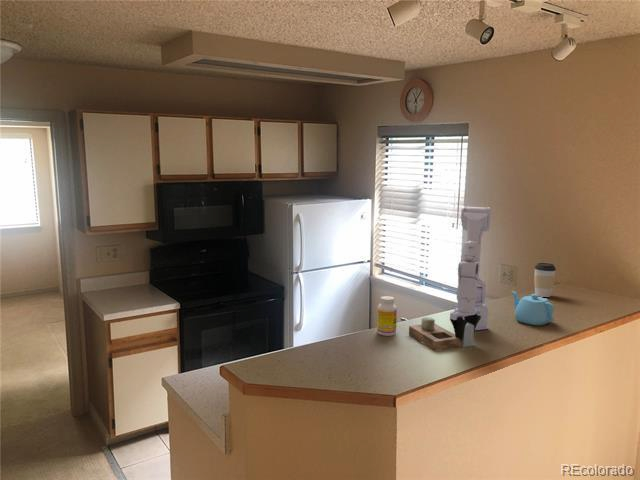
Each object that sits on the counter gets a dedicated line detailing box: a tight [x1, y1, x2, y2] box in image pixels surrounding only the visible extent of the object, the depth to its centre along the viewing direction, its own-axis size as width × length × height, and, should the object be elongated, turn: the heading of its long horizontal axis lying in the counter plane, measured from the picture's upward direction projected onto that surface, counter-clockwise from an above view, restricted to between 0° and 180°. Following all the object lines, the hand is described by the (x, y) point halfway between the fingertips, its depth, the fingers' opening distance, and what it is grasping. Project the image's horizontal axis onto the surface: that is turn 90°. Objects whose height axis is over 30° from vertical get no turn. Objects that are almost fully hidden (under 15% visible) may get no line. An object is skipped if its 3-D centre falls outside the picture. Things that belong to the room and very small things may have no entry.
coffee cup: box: [533, 262, 557, 298], centre depth 231 cm, size 9×9×15 cm
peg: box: [461, 322, 475, 348], centre depth 168 cm, size 4×4×7 cm
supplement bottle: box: [376, 295, 398, 337], centre depth 178 cm, size 7×7×13 cm
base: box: [408, 317, 462, 351], centre depth 172 cm, size 10×16×6 cm, turn 20°
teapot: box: [510, 290, 555, 326], centre depth 194 cm, size 13×11×18 cm
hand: (464, 337), depth 168 cm, fingers open, 5 cm apart
